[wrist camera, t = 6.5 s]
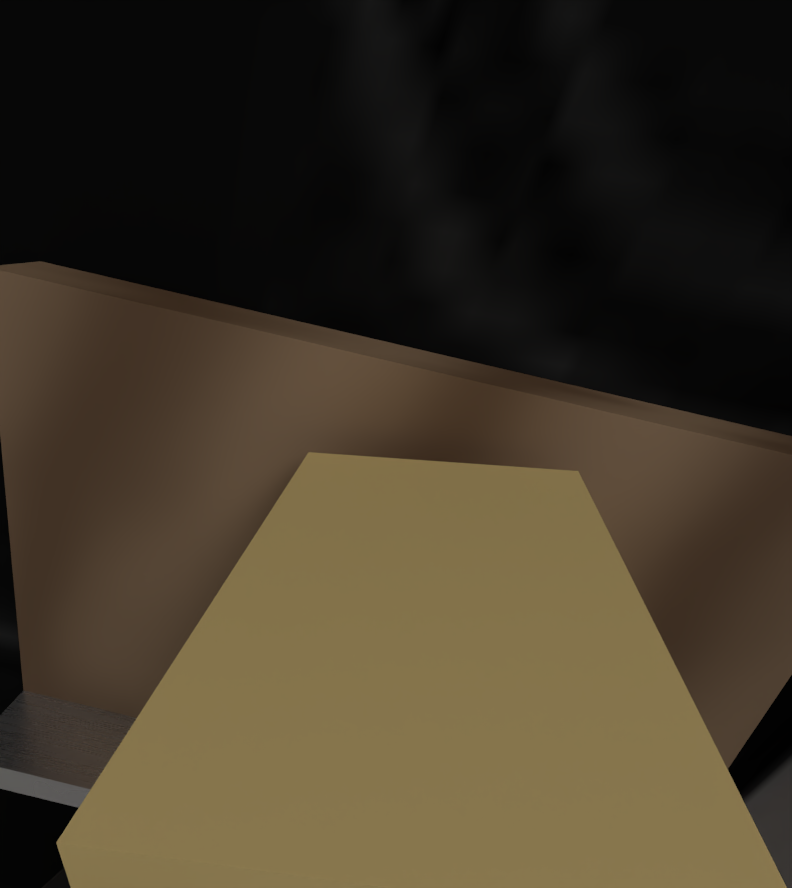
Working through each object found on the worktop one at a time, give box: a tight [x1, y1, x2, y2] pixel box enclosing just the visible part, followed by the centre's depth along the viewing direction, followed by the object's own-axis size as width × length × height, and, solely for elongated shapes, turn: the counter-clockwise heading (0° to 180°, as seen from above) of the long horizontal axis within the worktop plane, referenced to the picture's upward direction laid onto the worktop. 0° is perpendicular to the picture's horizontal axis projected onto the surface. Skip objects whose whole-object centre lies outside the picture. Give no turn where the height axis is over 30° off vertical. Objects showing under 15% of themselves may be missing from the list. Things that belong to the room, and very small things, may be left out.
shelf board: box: [0, 261, 792, 769], centre depth 13 cm, size 18×12×2 cm, turn 78°
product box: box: [56, 452, 787, 888], centre depth 8 cm, size 8×5×7 cm, turn 178°
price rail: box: [0, 690, 137, 808], centre depth 14 cm, size 18×1×2 cm, turn 78°
